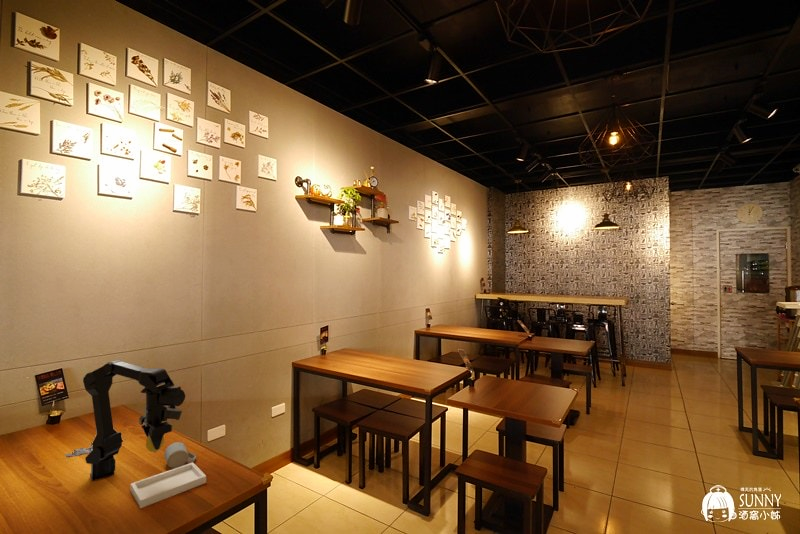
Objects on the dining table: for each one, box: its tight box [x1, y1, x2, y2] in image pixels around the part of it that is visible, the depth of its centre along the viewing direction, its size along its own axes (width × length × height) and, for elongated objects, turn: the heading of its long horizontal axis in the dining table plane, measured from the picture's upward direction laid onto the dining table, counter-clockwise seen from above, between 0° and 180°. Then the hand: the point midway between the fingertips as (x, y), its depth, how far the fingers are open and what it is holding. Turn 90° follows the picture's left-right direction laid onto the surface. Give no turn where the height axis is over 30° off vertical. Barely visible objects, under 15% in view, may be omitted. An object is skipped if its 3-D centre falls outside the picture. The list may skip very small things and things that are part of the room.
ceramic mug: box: [164, 441, 197, 469], centre depth 146 cm, size 11×8×8 cm
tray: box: [130, 462, 207, 509], centre depth 130 cm, size 20×14×2 cm
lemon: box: [145, 436, 165, 454], centre depth 134 cm, size 6×6×8 cm
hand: (154, 447), depth 133 cm, fingers closed on lemon, 5 cm apart
